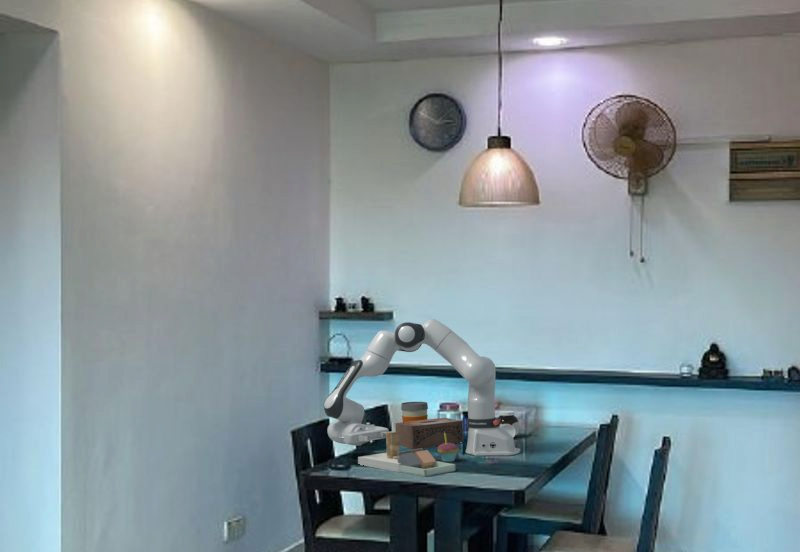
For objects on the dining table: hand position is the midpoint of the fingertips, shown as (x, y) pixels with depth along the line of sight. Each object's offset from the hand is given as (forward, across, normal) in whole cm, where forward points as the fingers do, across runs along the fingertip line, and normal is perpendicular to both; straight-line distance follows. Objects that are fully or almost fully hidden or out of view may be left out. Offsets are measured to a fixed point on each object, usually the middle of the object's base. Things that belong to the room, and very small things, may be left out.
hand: (377, 437), depth 414 cm
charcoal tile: (+23, -4, +8) cm, 24 cm away
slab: (+9, 0, +10) cm, 14 cm away
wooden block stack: (+14, 0, +7) cm, 16 cm away
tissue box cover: (-20, +45, +11) cm, 51 cm away
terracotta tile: (+23, +3, +8) cm, 24 cm away
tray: (+29, 0, +10) cm, 31 cm away
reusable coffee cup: (-45, +58, +10) cm, 75 cm away
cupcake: (+18, +21, +11) cm, 29 cm away
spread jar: (-5, +78, +11) cm, 79 cm away
